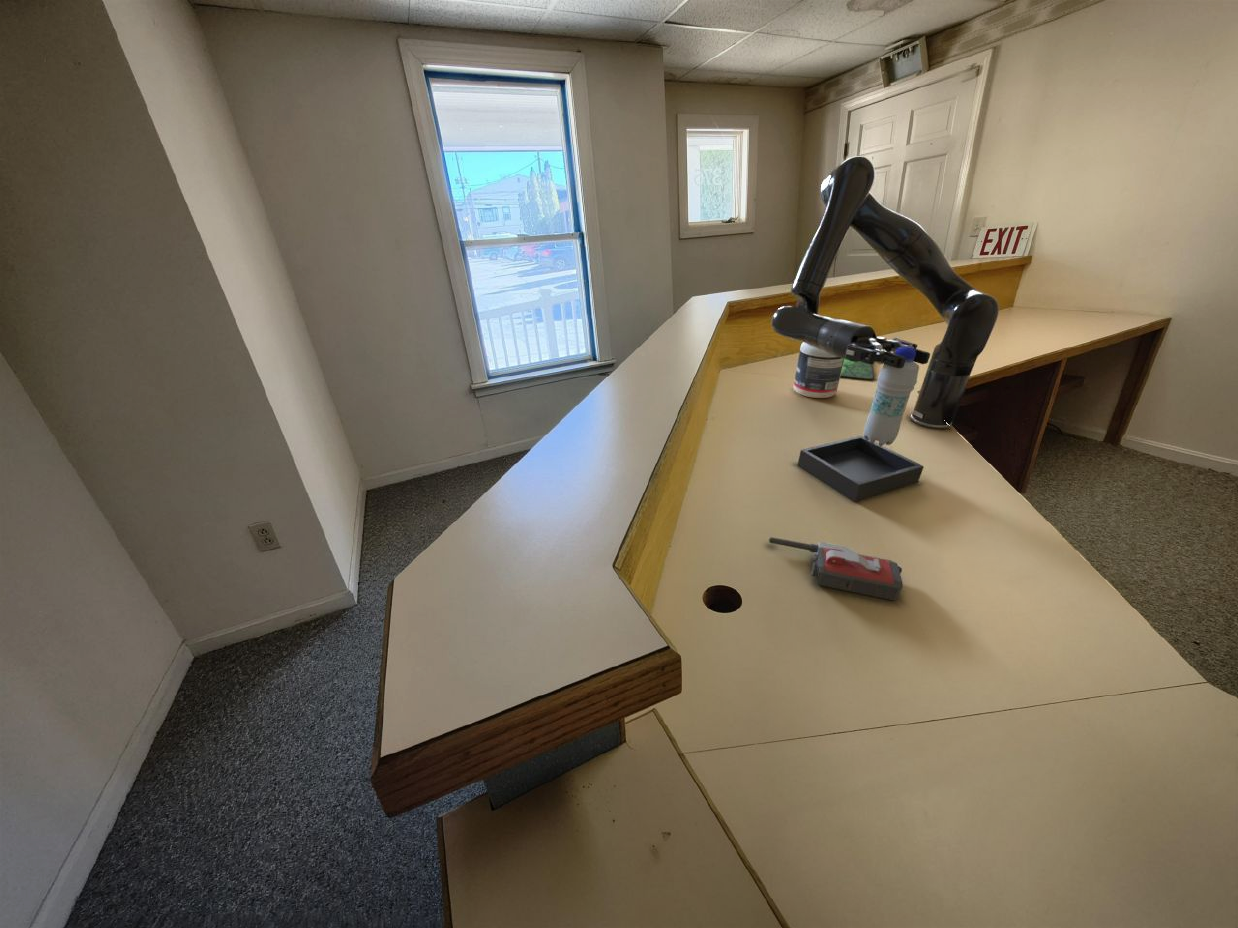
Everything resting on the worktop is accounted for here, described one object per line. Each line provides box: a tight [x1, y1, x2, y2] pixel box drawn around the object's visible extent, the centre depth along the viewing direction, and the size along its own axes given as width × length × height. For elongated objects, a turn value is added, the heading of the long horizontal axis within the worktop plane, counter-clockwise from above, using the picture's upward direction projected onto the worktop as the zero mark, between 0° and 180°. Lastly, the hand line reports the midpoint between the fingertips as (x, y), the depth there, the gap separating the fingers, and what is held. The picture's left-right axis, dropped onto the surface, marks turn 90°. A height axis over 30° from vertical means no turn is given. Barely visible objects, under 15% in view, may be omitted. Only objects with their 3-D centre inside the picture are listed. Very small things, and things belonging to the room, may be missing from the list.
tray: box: [797, 435, 925, 503], centre depth 98 cm, size 18×16×4 cm
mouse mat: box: [840, 359, 875, 381], centre depth 165 cm, size 27×22×1 cm
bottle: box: [862, 347, 920, 446], centre depth 91 cm, size 7×7×20 cm
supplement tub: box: [792, 342, 844, 399], centre depth 137 cm, size 13×13×18 cm
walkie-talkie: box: [768, 536, 904, 601], centre depth 72 cm, size 9×4×20 cm
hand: (915, 361), depth 85 cm, fingers closed on bottle, 5 cm apart
